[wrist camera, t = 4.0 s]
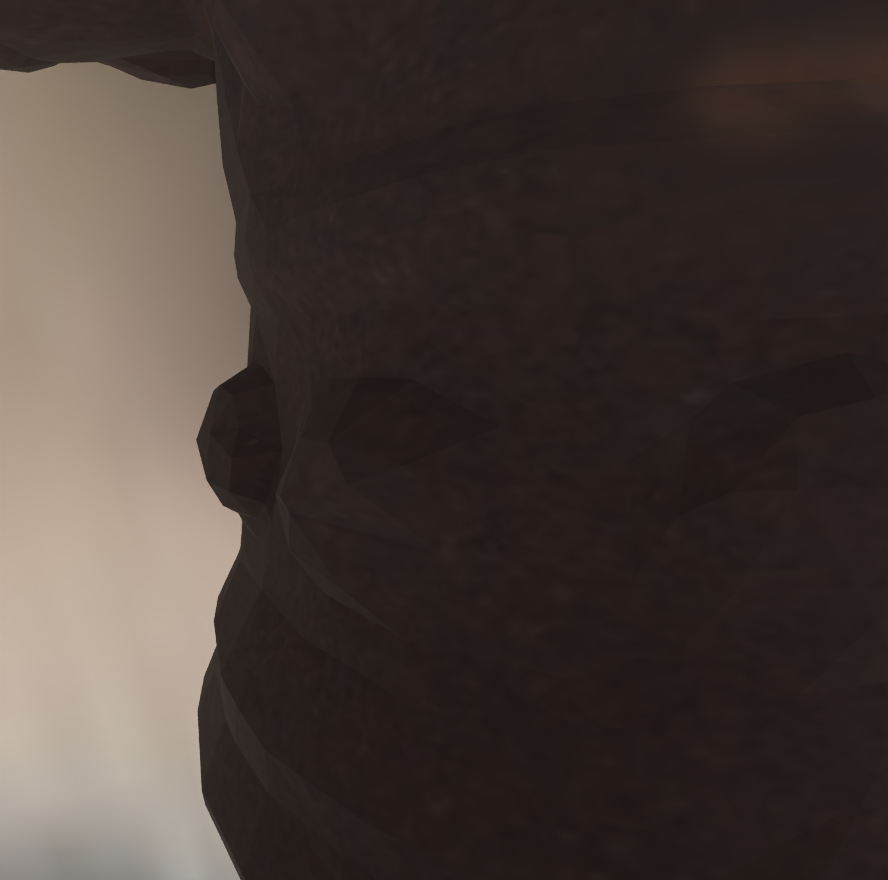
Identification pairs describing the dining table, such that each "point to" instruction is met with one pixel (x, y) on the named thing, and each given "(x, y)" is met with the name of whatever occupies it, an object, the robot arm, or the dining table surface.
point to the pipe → (542, 431)
